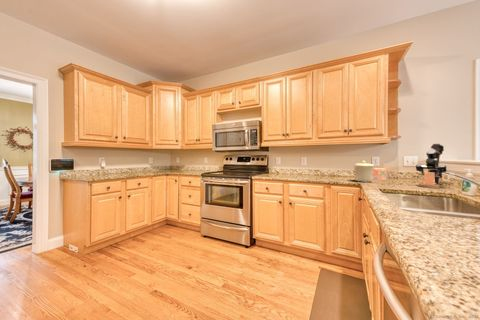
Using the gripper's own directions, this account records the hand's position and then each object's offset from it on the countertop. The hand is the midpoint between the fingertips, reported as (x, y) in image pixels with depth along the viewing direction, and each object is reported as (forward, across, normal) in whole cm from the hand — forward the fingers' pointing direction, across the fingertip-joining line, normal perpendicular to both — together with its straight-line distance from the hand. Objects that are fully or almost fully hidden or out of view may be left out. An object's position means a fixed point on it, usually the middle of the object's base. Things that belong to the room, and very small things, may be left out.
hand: (429, 175), depth 171 cm
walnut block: (+6, 0, +8) cm, 10 cm away
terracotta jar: (+4, 0, +6) cm, 7 cm away
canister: (+8, -49, +6) cm, 50 cm away
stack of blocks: (-11, -47, +26) cm, 55 cm away
